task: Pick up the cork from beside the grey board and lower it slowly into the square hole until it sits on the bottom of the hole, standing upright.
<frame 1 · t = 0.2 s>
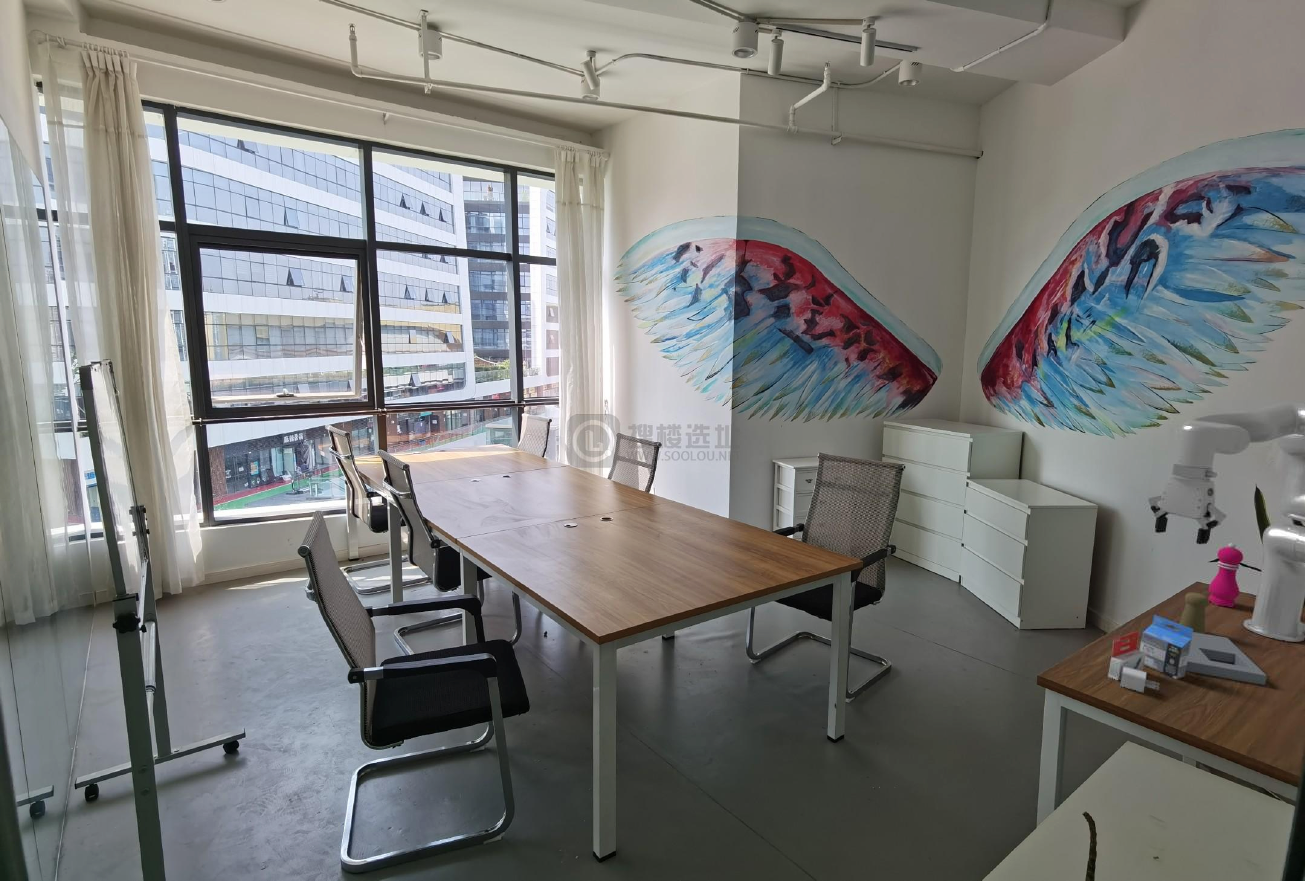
hand: (1180, 537, 166), 31 cm above the table, tool pointing down, fingers open, 9 cm apart
blue and white box: (1160, 670, 160), on the table
usb wall charger: (1138, 690, 150), on the table
socket board: (1204, 657, 167), on the table
cork: (1191, 631, 183), on the table
pepper mill: (1221, 604, 205), on the table
ink cartridge box: (1125, 675, 157), on the table
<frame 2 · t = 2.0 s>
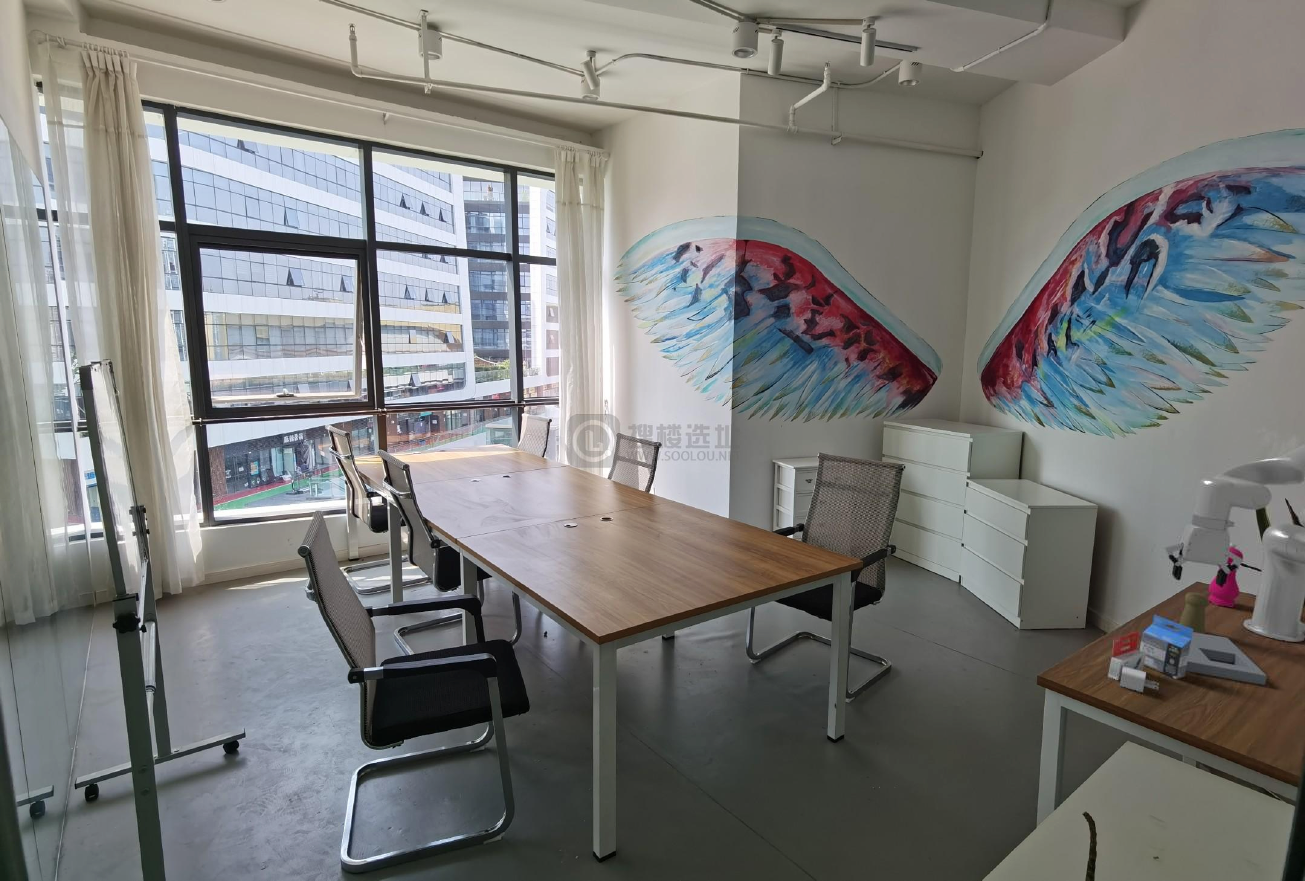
hand: (1197, 582, 181), 15 cm above the table, tool pointing down, fingers open, 9 cm apart
nothing on the table moved.
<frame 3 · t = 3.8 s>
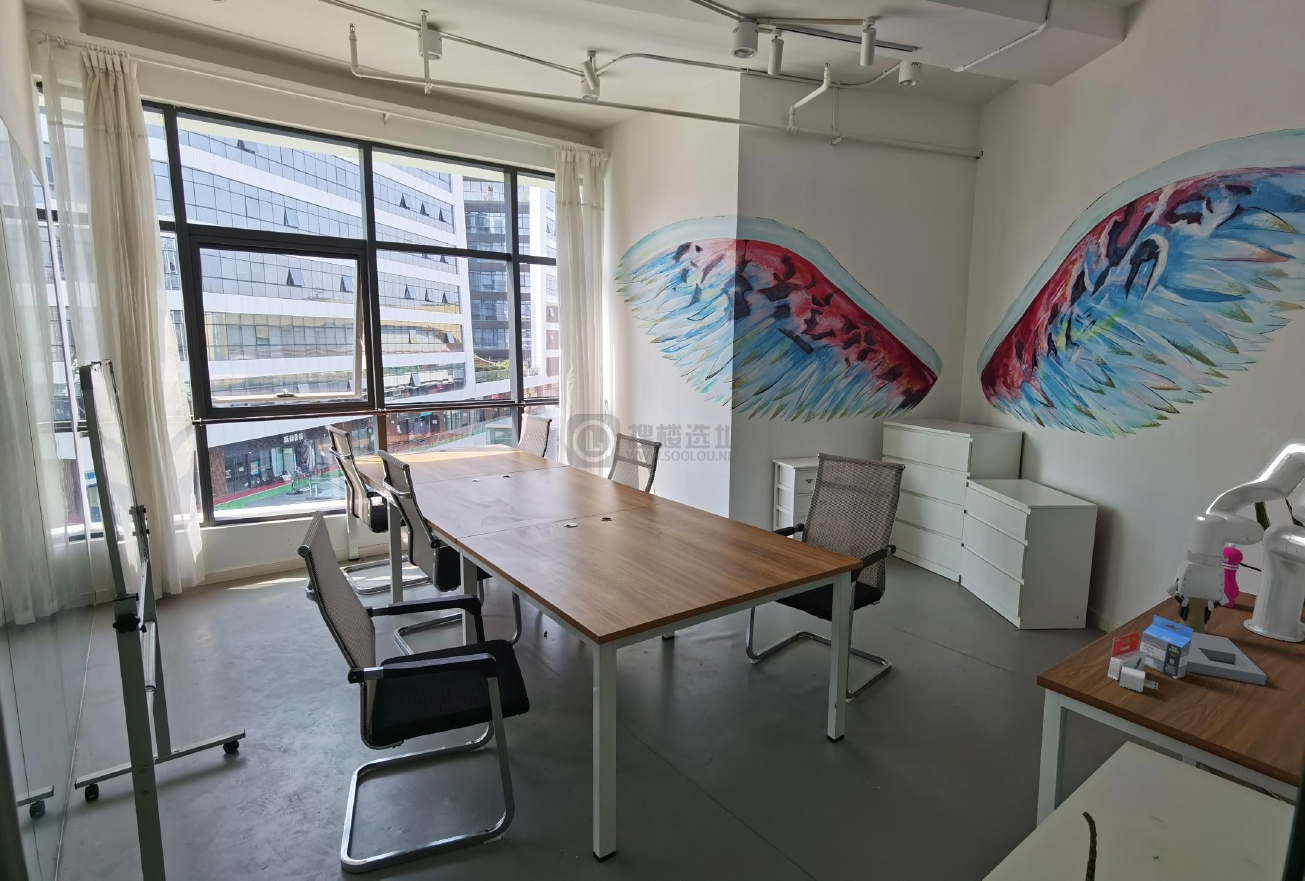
hand: (1193, 619, 183), 3 cm above the table, tool pointing down, fingers closed on cork, 4 cm apart
cork: (1191, 631, 183), on the table, touching gripper
everything else where it was.
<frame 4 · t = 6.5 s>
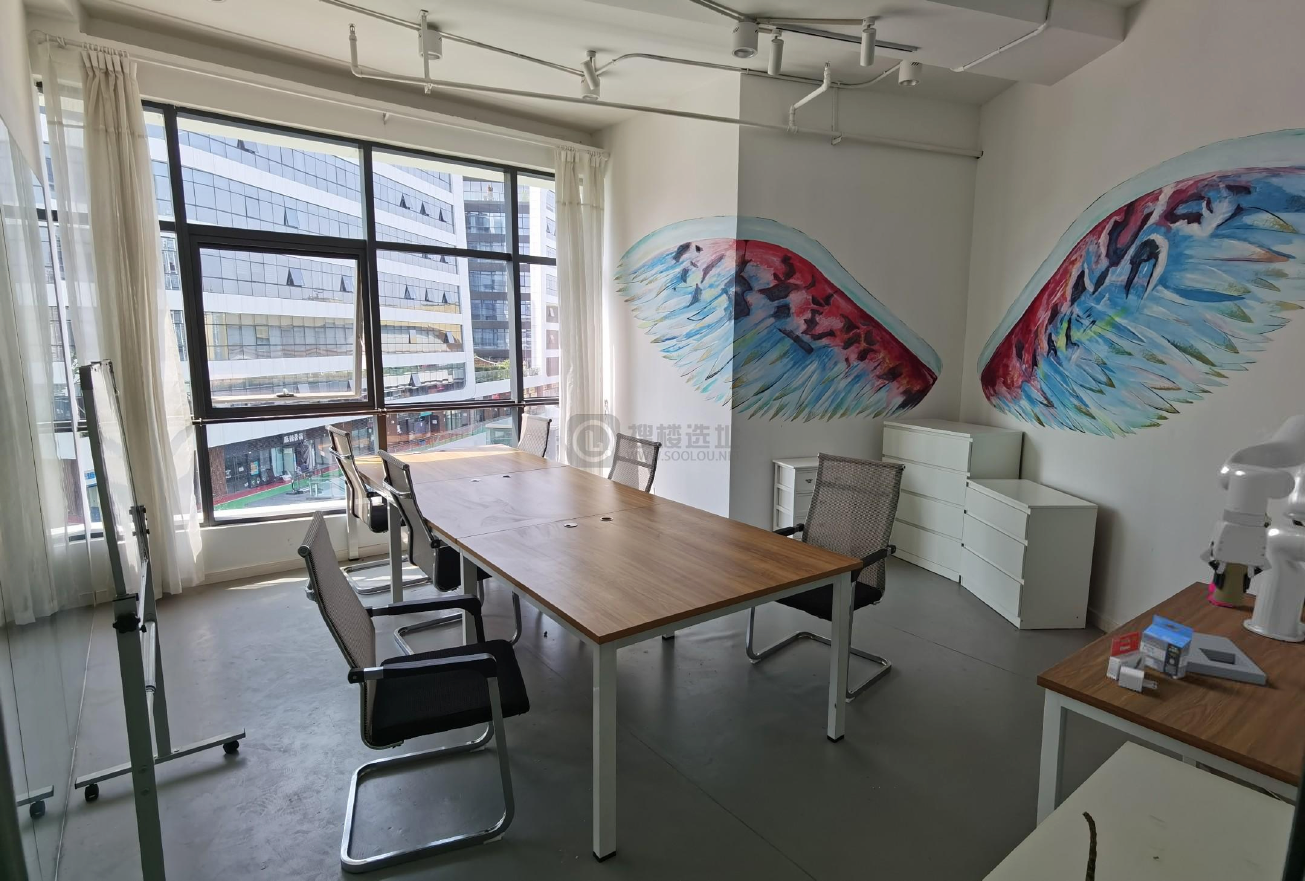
hand: (1229, 588, 162), 20 cm above the table, tool pointing down, fingers closed on cork, 4 cm apart
cork: (1227, 602, 163), point 16 cm above the table, touching gripper
everything else where it was.
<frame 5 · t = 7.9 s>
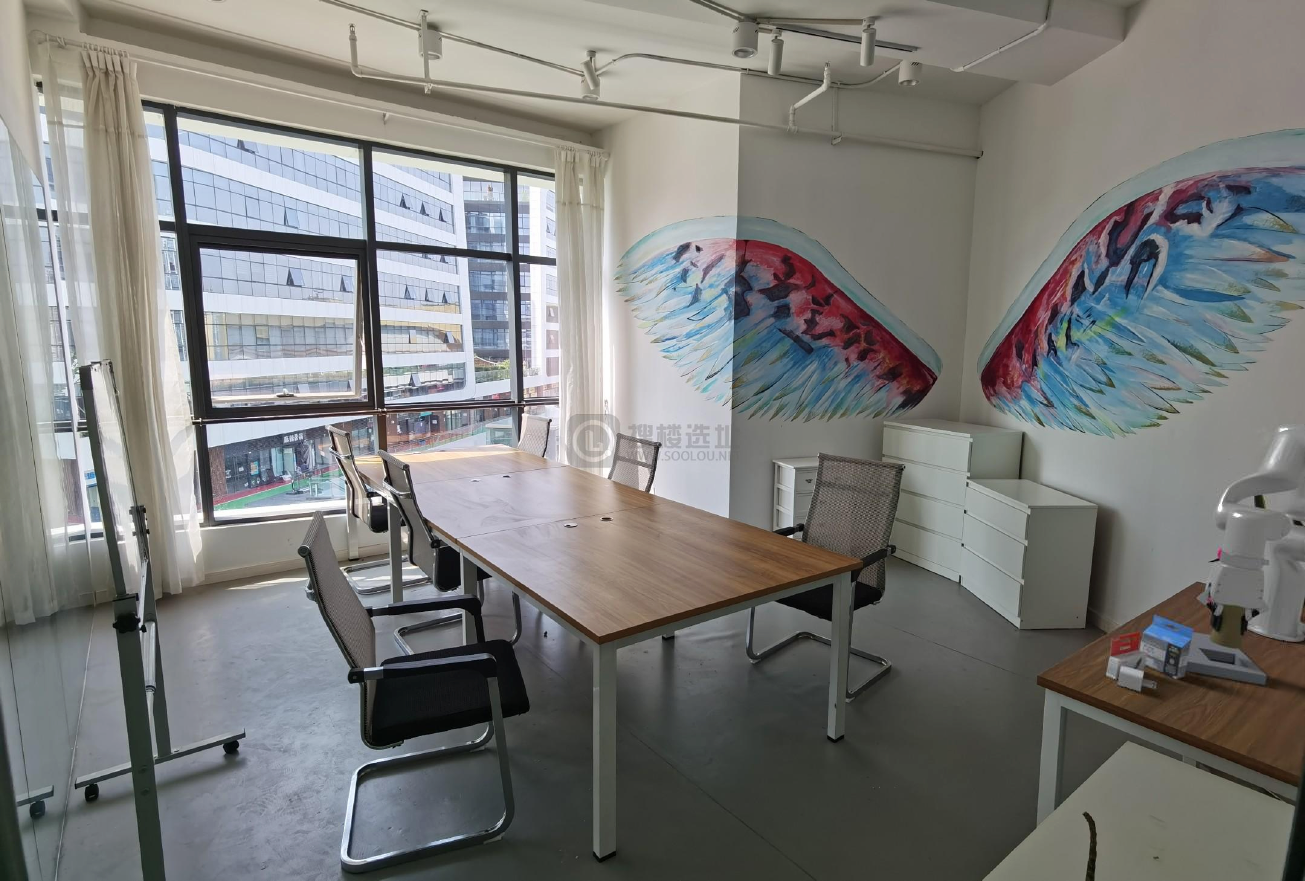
hand: (1227, 630, 161), 10 cm above the table, tool pointing down, fingers closed on cork, 4 cm apart
cork: (1224, 643, 162), point 6 cm above the table, touching gripper
everything else where it was.
when the fingers open (4 cm above the table, at t = 9.3 s): cork stays where it is, resting in socket board.
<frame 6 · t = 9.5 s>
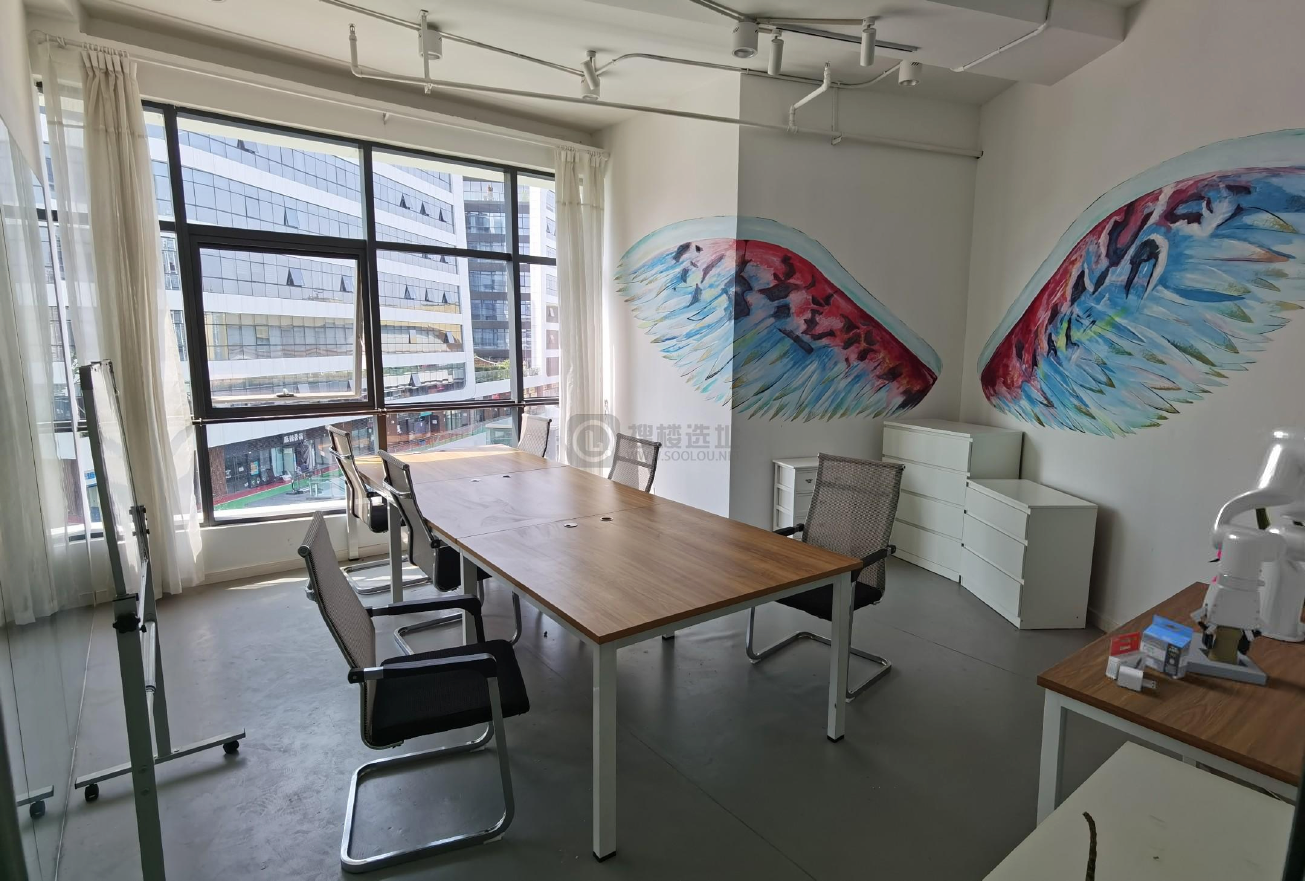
hand: (1224, 649, 162), 5 cm above the table, tool pointing down, fingers open, 6 cm apart
cork: (1221, 667, 163), resting in socket board
everything else where it was.
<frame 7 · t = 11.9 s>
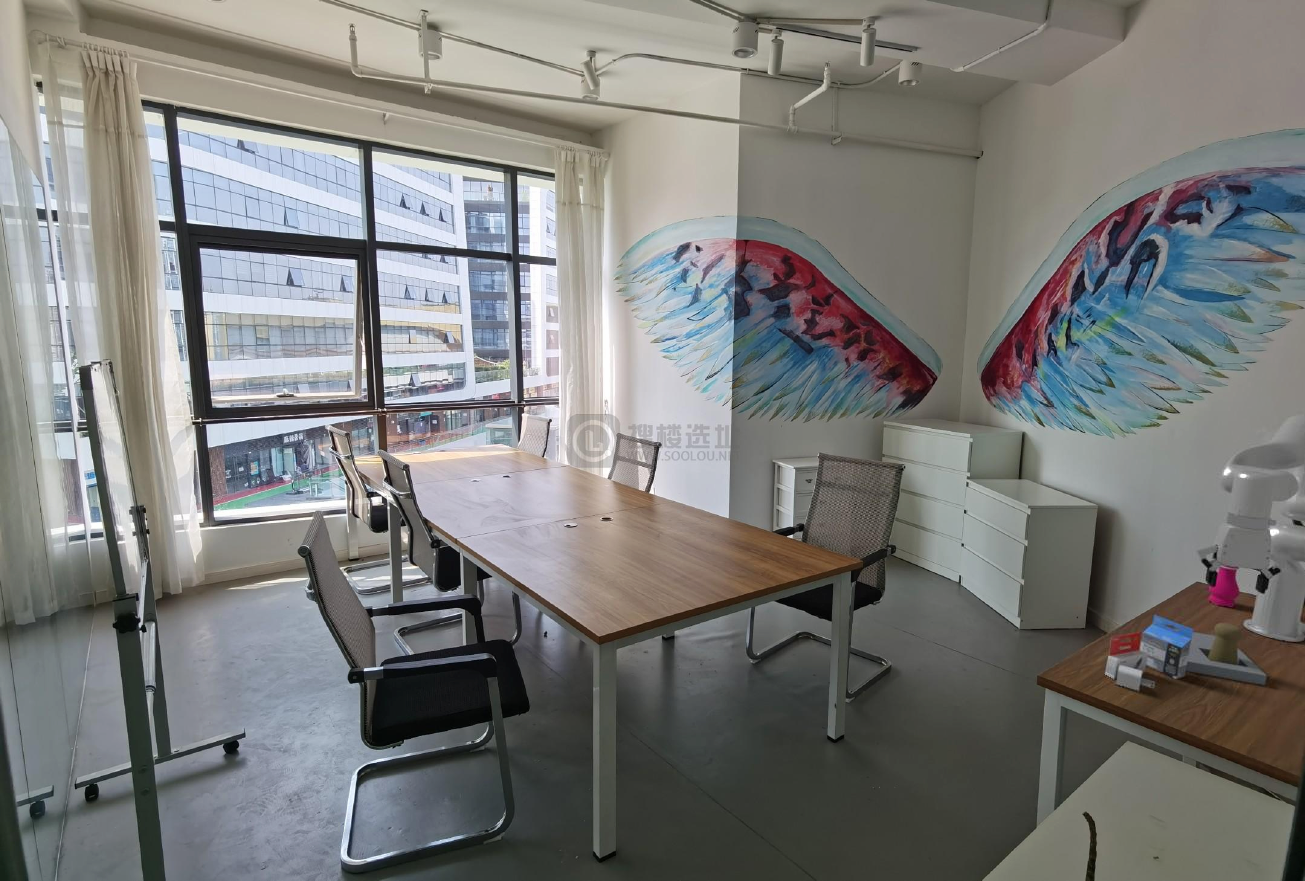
hand: (1235, 588, 160), 20 cm above the table, tool pointing down, fingers open, 9 cm apart
nothing on the table moved.
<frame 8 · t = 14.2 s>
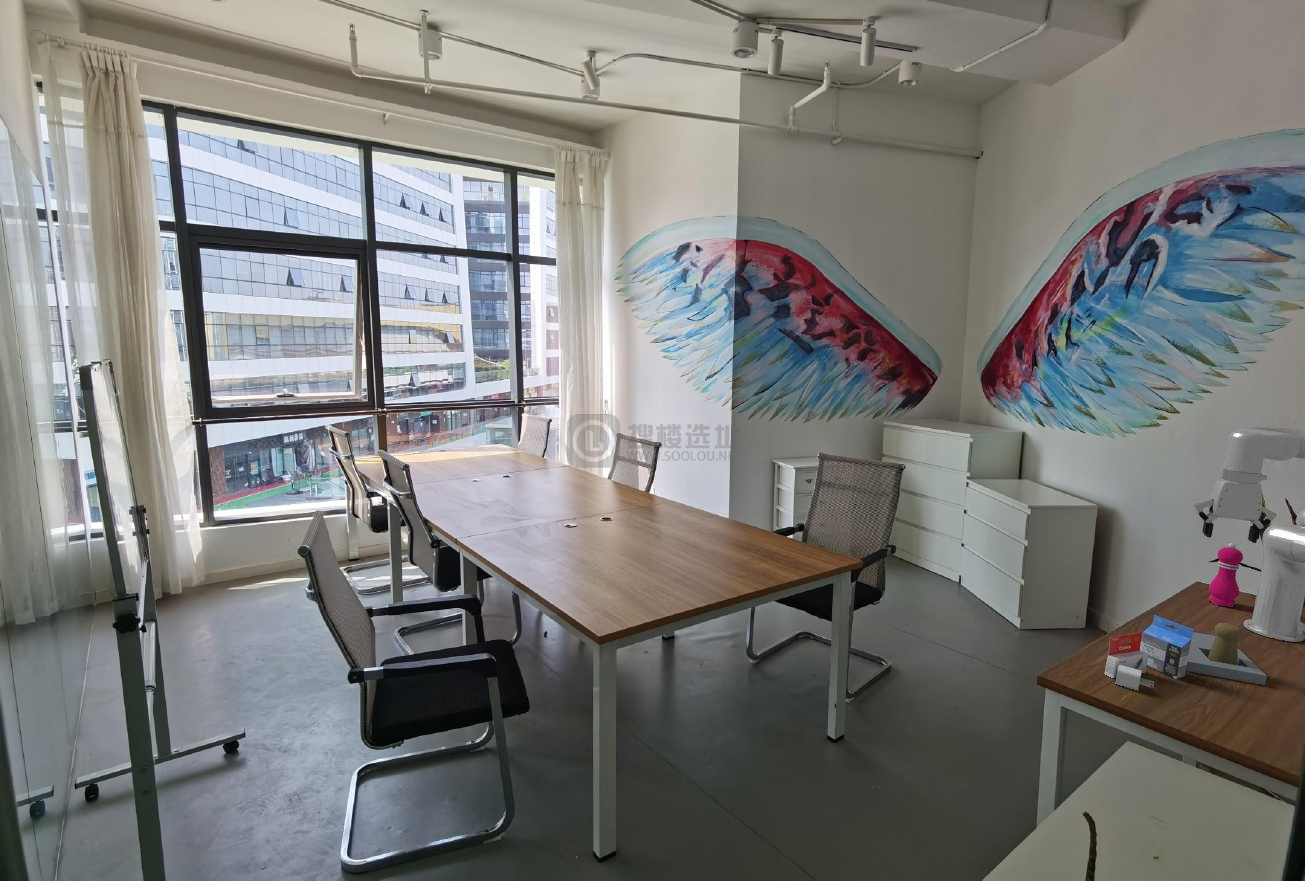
hand: (1229, 538, 176), 28 cm above the table, tool pointing down, fingers open, 9 cm apart
nothing on the table moved.
at the end: cork 0.3 cm from the target spot on the socket board, point 0.0 cm above the socket board's base; cork tilted 0°; the gripper is holding nothing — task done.
